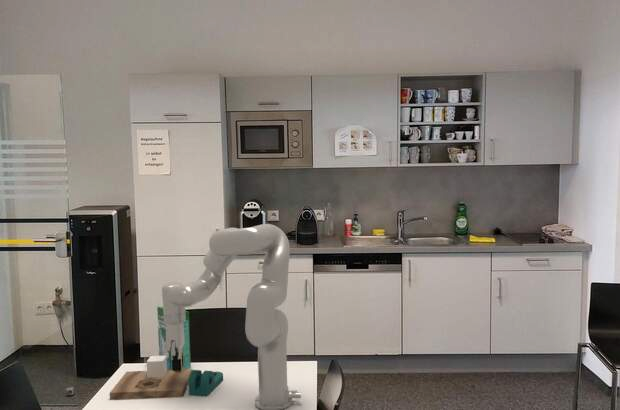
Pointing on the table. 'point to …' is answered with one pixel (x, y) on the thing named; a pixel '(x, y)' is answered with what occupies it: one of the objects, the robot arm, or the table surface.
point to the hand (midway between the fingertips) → (178, 368)
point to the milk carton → (163, 341)
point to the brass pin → (181, 361)
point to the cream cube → (156, 366)
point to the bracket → (203, 382)
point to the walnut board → (151, 385)
